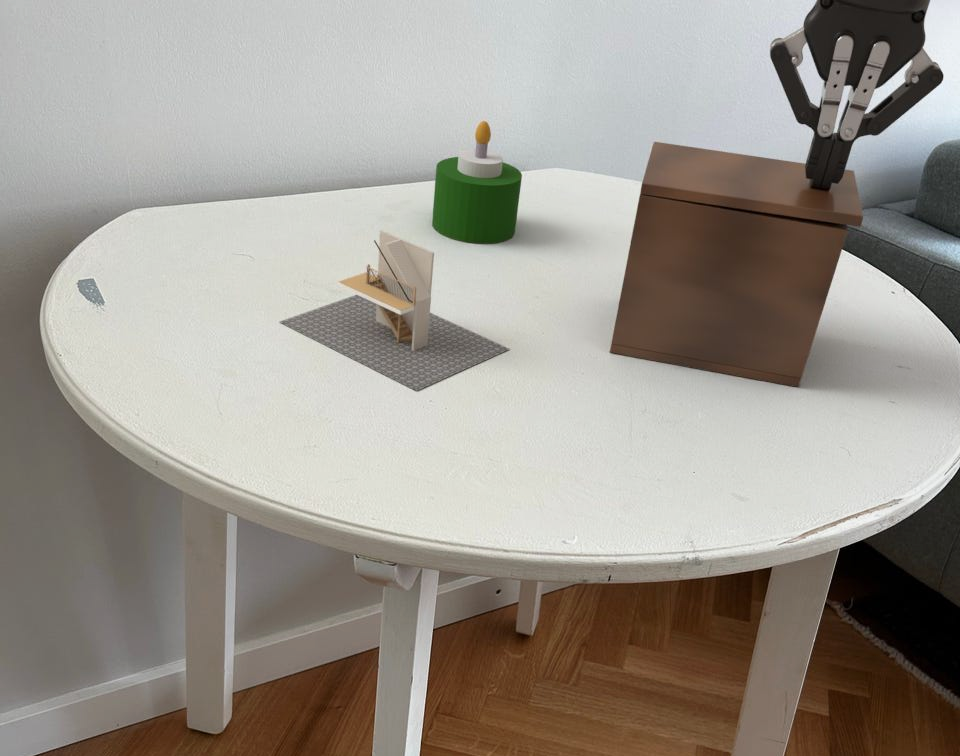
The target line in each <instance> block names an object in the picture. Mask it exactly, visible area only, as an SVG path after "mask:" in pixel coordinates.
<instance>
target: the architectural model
mask: <svg viewBox="0 0 960 756" xmlns="http://www.w3.org/2000/svg"><path fill="white" fill-rule="evenodd" d="M373 242H374V243H375V245H376V247H377V249H378V265H377V270H376V269H374V268H371V264H369V263H368V264H366V265H367V266H365V268H366V272H362V273H360V274H357V275H354V276H351V277H348V278H344V279H342V280H339V281H337V282H338V287H339V288H341V289H344V290H345V291H348V292H350V293H352V294H353V295H351V296H349V297H346V298H343V299H340V300H337V301H334V302H331V303H329V304H326V305H322V306H320V307H317V308H314V309H312V310H309V311H306V312H303V313H300V314H297V315H294V316H291V317H288V318H286V319H283V320H280V321H279V323H281V324H282V325H284V326H287V327H289V328H290V329H292V330H295V331H296V332H299V333H301V334H302V335H304V336H307V337H308V338H309V339H312V340H314V341H316V342H318V343H320V344H322V345H324V346H326V347H329V348H330V349H331V350H334V351H336V352H338V353H340V354H342V355H344V356H346V357H348V358H350V359H352V360H354V361H356V362H358V363H360V364H363V366H367V367H368V368H370V369H372V370H375V371H376V372H378V373H380V374H382V375H384V376H386V377H388V378H390V379H392V380H394V381H396V382H399V384H400V383H401V384H402V385H404V386H406V387H408V388H410V389H412V390H414V391H416V392H418V391H420V390H422V389H423V388H426V387H428V386H431V385H433V384H435V383H438V382H439V381H442V380H444V379H446V378H449V377H451V376H453V375H455V374H458V373H459V372H460V373H461V372H462V371H464V370H467V369H469V368H471V367H473V366H475V365H477V364H479V363H480V364H481V362H484V361H486V360H489V359H490V358H493V357H495V356H497V355H499V354H502V353H504V352H506V351H509V350H510V348H509V347H507V346H505V345H502V344H500V343H498V342H496V341H493V340H491V339H489V338H487V337H484V336H483V335H481V334H478V333H476V332H474V331H472V330H470V329H468V328H465V327H462V326H461V325H458V324H456V323H454V322H451V321H449V320H447V319H445V318H443V317H441V316H439V315H436V314H434V313H432V312H431V301H432V286H433V273H434V272H433V271H434V260H435V259H434V258H435V252H434V251H432V250H430V249H427V248H425V247H423V246H421V245H418V244H416V243H413V242H410V241H408V240H406V239H404V238H401V237H400V236H397V235H394V234H393V233H390V232H387V231H385V230H383V229H382V230H380V231H379V241H378V242H379V243H377V241H376V240H375V239H374V240H373Z"/></svg>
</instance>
